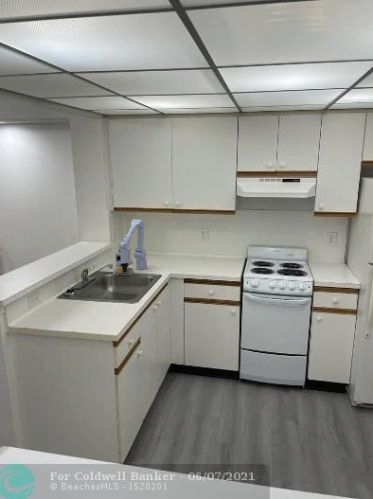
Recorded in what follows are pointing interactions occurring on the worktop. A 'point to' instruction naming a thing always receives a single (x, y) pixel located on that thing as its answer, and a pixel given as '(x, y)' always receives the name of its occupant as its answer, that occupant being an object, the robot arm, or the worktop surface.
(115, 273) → the breaker panel
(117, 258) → the circuit breaker
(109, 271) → the worktop surface
